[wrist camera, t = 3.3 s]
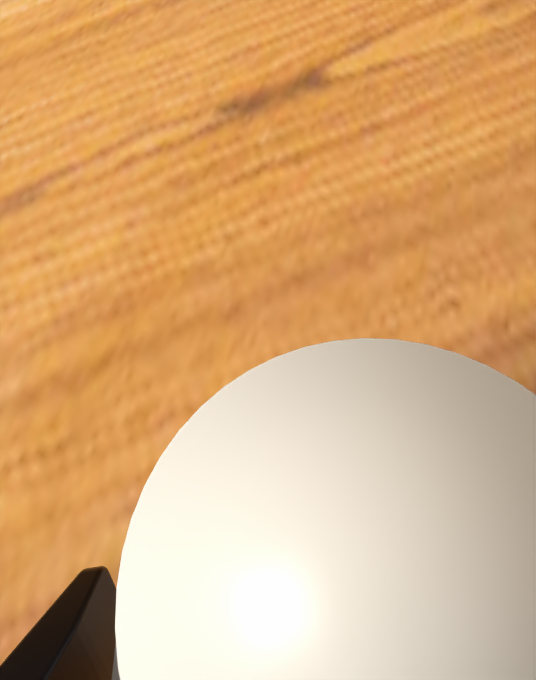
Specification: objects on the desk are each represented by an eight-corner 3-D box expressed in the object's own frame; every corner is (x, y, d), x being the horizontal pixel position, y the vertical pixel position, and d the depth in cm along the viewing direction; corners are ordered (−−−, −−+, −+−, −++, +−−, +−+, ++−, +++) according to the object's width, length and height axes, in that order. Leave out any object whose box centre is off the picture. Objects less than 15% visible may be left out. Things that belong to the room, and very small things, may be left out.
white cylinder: (441, 538, 16) (816, 601, 4) (337, 660, 15) (418, 1204, 3) (328, 430, 18) (358, 242, 6) (227, 536, 17) (-1, 588, 5)
